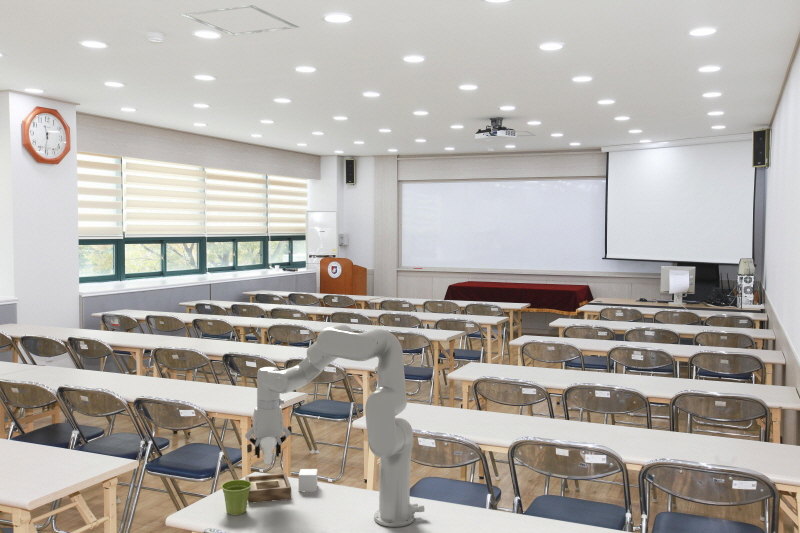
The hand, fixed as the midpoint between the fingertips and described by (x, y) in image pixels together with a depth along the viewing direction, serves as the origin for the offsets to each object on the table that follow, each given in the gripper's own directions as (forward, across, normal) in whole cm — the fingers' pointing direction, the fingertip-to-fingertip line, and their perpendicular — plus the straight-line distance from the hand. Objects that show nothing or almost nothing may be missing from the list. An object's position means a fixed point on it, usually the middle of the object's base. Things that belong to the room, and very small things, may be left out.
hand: (267, 455), depth 231 cm
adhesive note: (+13, -14, -1) cm, 19 cm away
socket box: (+13, 0, 0) cm, 13 cm away
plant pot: (+13, +11, +13) cm, 22 cm away
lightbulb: (+3, 0, 0) cm, 3 cm away
